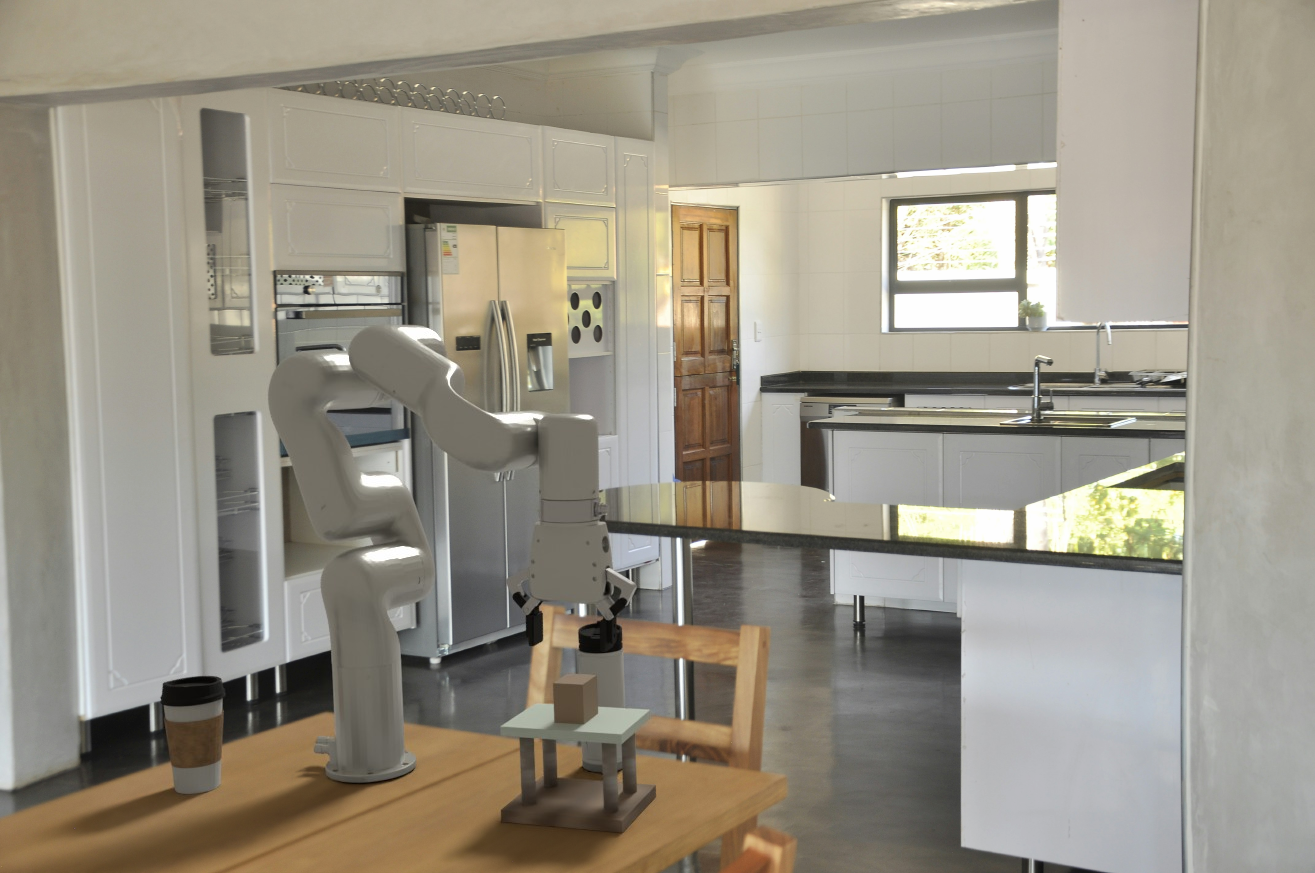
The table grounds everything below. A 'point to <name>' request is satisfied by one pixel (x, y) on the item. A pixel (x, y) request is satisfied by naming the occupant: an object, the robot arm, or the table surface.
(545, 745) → the peg stand
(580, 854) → the table surface
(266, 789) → the table surface
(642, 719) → the shelf board
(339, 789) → the table surface
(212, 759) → the coffee cup
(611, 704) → the travel mug
